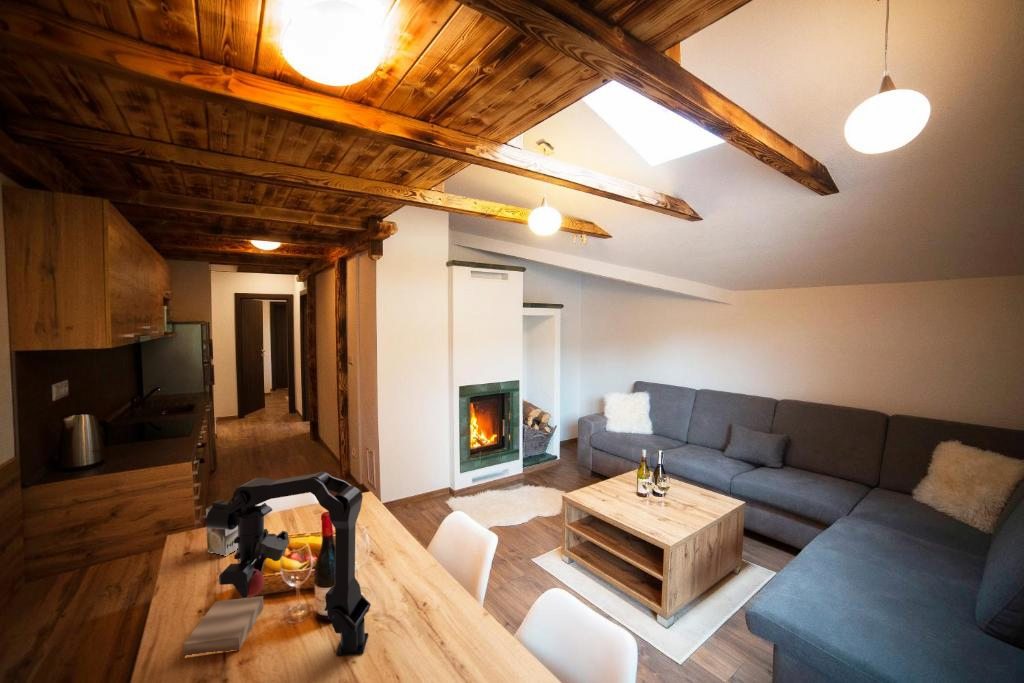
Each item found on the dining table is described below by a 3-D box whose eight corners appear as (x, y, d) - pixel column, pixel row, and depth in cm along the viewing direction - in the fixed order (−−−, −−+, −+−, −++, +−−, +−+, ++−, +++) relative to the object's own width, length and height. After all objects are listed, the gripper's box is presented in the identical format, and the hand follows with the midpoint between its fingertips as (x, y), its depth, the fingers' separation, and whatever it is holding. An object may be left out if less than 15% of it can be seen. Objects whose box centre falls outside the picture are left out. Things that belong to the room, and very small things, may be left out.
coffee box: (242, 547, 152) (241, 504, 151) (225, 557, 146) (224, 511, 145) (223, 543, 154) (222, 500, 154) (206, 552, 148) (204, 508, 147)
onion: (259, 587, 113) (259, 558, 112) (268, 596, 109) (267, 566, 109) (234, 597, 108) (234, 567, 108) (242, 607, 105) (242, 576, 104)
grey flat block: (239, 652, 105) (238, 637, 104) (184, 660, 102) (183, 644, 102) (263, 609, 120) (263, 595, 120) (216, 615, 118) (215, 601, 118)
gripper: (268, 548, 100) (268, 612, 100) (298, 512, 118) (297, 566, 119) (217, 550, 98) (217, 615, 99) (255, 513, 117) (255, 568, 117)
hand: (251, 589), depth 109 cm, fingers closed on onion, 6 cm apart
